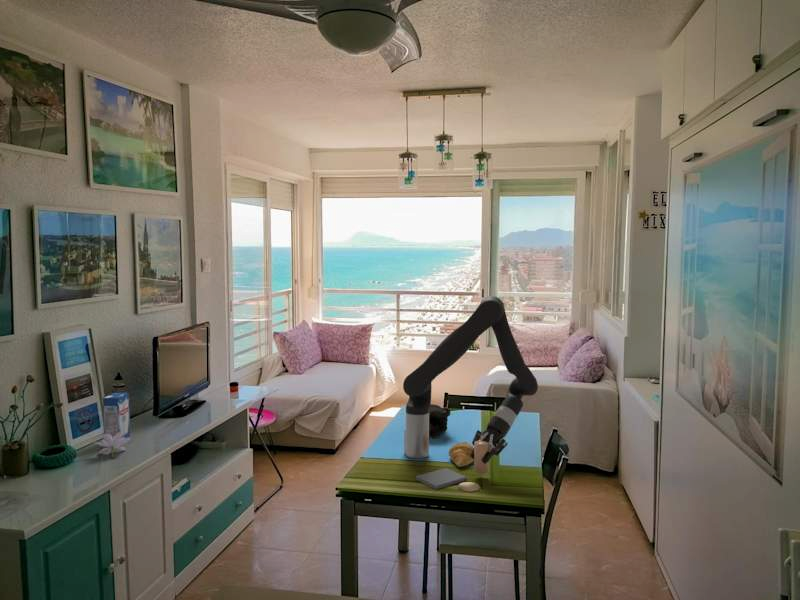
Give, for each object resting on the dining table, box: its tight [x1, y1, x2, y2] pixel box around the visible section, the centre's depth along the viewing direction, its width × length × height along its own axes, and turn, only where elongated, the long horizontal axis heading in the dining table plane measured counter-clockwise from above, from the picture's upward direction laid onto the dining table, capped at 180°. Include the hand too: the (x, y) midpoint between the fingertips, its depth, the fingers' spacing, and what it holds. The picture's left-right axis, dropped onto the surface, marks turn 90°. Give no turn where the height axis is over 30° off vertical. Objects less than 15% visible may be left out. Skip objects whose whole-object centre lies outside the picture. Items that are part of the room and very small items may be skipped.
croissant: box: [448, 441, 474, 468], centre depth 229 cm, size 21×10×8 cm, turn 170°
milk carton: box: [102, 392, 131, 439], centre depth 249 cm, size 10×6×20 cm, turn 0°
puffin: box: [429, 403, 451, 440], centre depth 265 cm, size 20×21×13 cm
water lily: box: [94, 431, 132, 458], centre depth 232 cm, size 14×14×8 cm
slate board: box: [415, 467, 467, 490], centre depth 208 cm, size 11×14×1 cm
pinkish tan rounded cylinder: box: [473, 441, 490, 474], centre depth 209 cm, size 5×5×10 cm
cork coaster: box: [458, 481, 480, 493], centre depth 201 cm, size 7×7×1 cm
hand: (477, 459), depth 208 cm, fingers closed on pinkish tan rounded cylinder, 5 cm apart
